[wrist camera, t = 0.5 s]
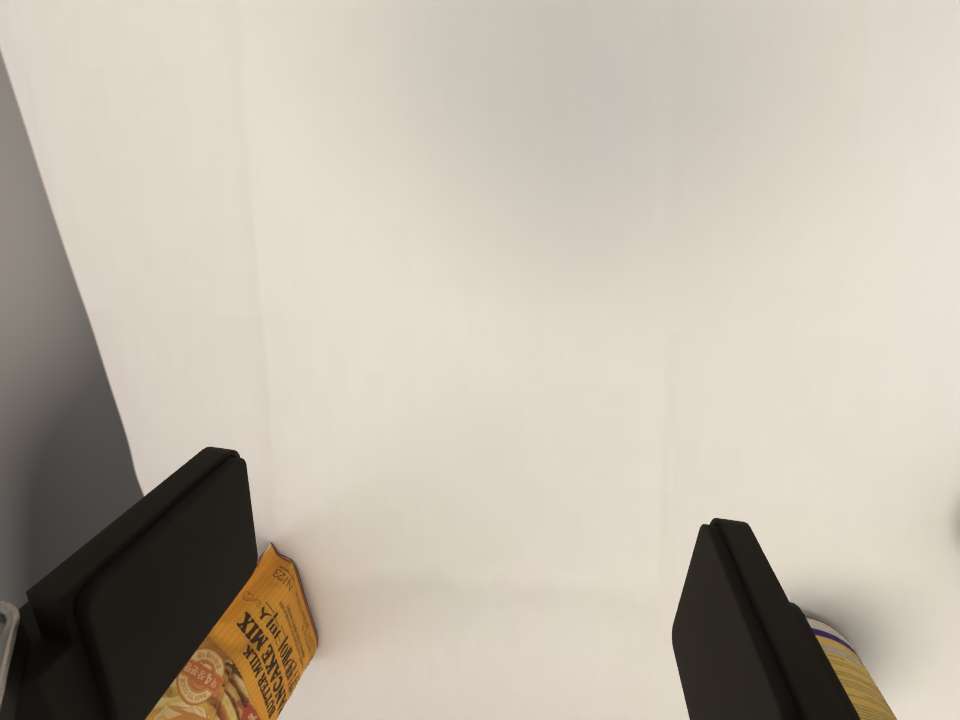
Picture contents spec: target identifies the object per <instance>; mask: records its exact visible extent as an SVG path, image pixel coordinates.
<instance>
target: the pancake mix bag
mask: <svg viewBox="0 0 960 720" xmlns="http://www.w3.org/2000/svg"><path fill="white" fill-rule="evenodd" d="M316 649H317V635H316V631H315V628H314V625H313V621H312V618H311V614H310V611H309V608H308V605H307V602H306V599H305V597H304V594H303V590H302V586H301V582H300V579H299V575H298V572H297V570H296V567H295V565H294V563H293V561H292V560H290V559H288V558H286V557H283V556H281V555H278V554H277V552H276V551H275V549H274V548H273V546H272V545H271V543H270V544H269V546H268V548H267V549H266V551H265V552H264V553H263V554H262V555H261V556H260V558H259V559H258V563H257V566H256V569H255V571H254V573H253V575H252V576H251V578H250V579H249V580H248V582H247V583H246V585H245V586H244V587H243V589H242V590H241V591H240V593H239V594H238V595H237V597H236V598H235V599H234V601H233V602H232V603H231V605H230V606H229V607H228V609H227V610H226V611H225V613H224V614H223V615H222V617H221V618H220V620H219V621H218V622H217V624H216V625H215V626H214V628H213V629H212V630H211V632H210V633H209V634H208V636H207V637H206V638H205V640H204V641H203V642H202V644H201V645H200V646H199V648H198V649H197V650H196V652H195V653H194V654H193V656H192V657H191V659H190V660H189V661H188V663H187V664H186V665H185V667H184V668H183V669H182V671H181V672H180V673H179V675H178V676H177V677H176V679H175V680H174V681H173V683H172V684H171V685H170V687H169V688H168V689H167V691H166V692H165V694H164V695H163V696H162V698H161V699H160V700H159V702H158V703H157V704H156V706H155V707H154V708H153V710H152V711H151V712H150V714H149V715H148V716H147V718H146V719H145V720H277V718H278V716H279V714H280V712H281V710H282V709H283V707H284V705H285V704H286V702H287V701H288V699H289V698H290V696H291V695H292V693H293V691H294V689H295V687H296V685H297V683H298V681H299V679H300V677H301V675H302V673H303V672H304V670H305V669H306V668H307V666H308V665H309V662H310V661H311V659H312V658H313V655H314V653H315V651H316Z"/></svg>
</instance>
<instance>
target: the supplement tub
mask: <svg viewBox="0 0 960 720" xmlns="http://www.w3.org/2000/svg"><path fill="white" fill-rule="evenodd" d="M806 619H807V621H808V623H809V624H810V626H811V628H812V630H813V632H814V634H815V636H816V637H817V639H818V641H819V643H820V645H821V647H822V648H823V650H824V652H825V654H826V656H827V658H828V660H829V661H830V663H831V665H832V667H833V669H834V671H835V673H836V674H837V676H838V678H839V680H840V682H841V684H842V685H843V687H844V689H845V691H846V693H847V695H848V697H849V698H850V700H851V702H852V704H853V706H854V708H855V710H856V711H857V713H858V715H859V717H860V719H861V720H897V719H896V717H895V715H894V714H893V712H892V710H891V709H890V707H889V705H888V704H887V702H886V701H885V699H884V697H883V696H882V694H881V692H880V691H879V689H878V687H877V686H876V684H875V683H874V681H873V679H872V678H871V676H870V674H869V673H868V671H867V669H866V668H865V666H864V665H863V663H862V661H861V660H860V658H859V656H858V654H857V652H856V651H855V649H854V648H853V647H852V646H851V644H850V643H849V642H848V641H847V640H846V639H845V638H844V637H843V636H842V635H841V634H839V633H838V632H837V631H835V630H834V629H833V628H831V627H829V626H827V625H826V624H824V623H821V622H819V621H816V620H813V619H810V618H806Z"/></svg>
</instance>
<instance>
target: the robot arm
mask: <svg viewBox="0 0 960 720" xmlns="http://www.w3.org/2000/svg"><path fill="white" fill-rule="evenodd" d="M257 561H258V554H257V546H256V538H255V530H254V522H253V514H252V506H251V498H250V490H249V482H248V474H247V466H246V462H245V460H244V459H242V458H240V455H239V454H238V452H237V451H235V450H230V449H223V448H216V447H206V448H205V449H203V450H202V451H200V452H199V453H198V454H197V455H195V456H194V457H193V458H192V459H190V460H189V461H188V462H187V463H186V464H184V465H183V466H182V467H181V468H179V469H178V470H177V471H176V472H174V473H173V474H172V475H171V476H169V477H168V478H167V479H166V480H164V481H163V482H162V483H161V484H159V485H158V486H157V487H156V488H155V489H153V490H152V491H151V492H150V493H148V494H147V495H146V496H145V497H143V498H142V499H141V500H140V501H138V502H137V503H136V504H135V505H133V506H132V507H131V508H130V509H128V510H127V511H126V512H125V513H124V514H123V515H121V516H120V517H119V518H117V519H116V520H115V521H114V522H112V523H111V524H110V525H109V526H107V527H106V528H105V529H104V530H102V531H101V532H100V533H99V534H98V535H96V536H95V537H94V538H92V540H90V541H89V542H88V543H86V544H85V545H84V546H83V547H81V548H80V549H79V550H78V551H76V552H75V553H74V554H73V555H72V556H70V557H69V558H68V559H66V560H65V561H64V562H63V563H61V564H60V565H59V566H58V567H57V568H55V569H54V570H53V571H52V572H51V573H49V574H48V575H47V576H45V577H44V578H43V579H42V580H40V581H39V582H38V583H37V584H35V585H34V586H33V587H32V588H31V589H29V590H28V591H27V592H26V594H27V596H28V599H29V601H28V602H27V603H26V604H24V605H23V606H22V607H21V608H20V609H19V610H17V608H15V606H14V605H13V604H10V603H7V602H3V601H0V720H145V719H146V718H147V716H148V715H149V714H150V712H151V711H152V710H153V708H154V707H155V706H156V704H157V703H158V702H159V700H160V699H161V698H162V696H163V695H164V694H165V692H166V691H167V689H168V688H169V687H170V685H171V684H172V683H173V681H174V680H175V679H176V677H177V676H178V675H179V673H180V672H181V671H182V669H183V668H184V667H185V665H186V664H187V663H188V661H189V660H190V659H191V657H192V656H193V654H194V653H195V652H196V650H197V649H198V648H199V646H200V645H201V644H202V642H203V641H204V640H205V638H206V637H207V636H208V634H209V633H210V632H211V630H212V629H213V628H214V626H215V625H216V624H217V622H218V621H219V620H220V618H221V617H222V615H223V614H224V613H225V611H226V610H227V609H228V607H229V606H230V605H231V603H232V602H233V601H234V599H235V598H236V597H237V595H238V594H239V593H240V591H241V590H242V589H243V587H244V586H245V585H246V583H247V582H248V580H249V579H250V578H251V576H252V575H253V573H254V571H255V569H256V566H257ZM672 644H673V649H674V653H675V658H676V662H677V666H678V671H679V675H680V679H681V683H682V688H683V692H684V696H685V701H686V705H687V709H688V713H689V718H690V720H861V719H860V717H859V715H858V713H857V711H856V710H855V708H854V706H853V704H852V702H851V700H850V698H849V697H848V695H847V693H846V691H845V689H844V687H843V685H842V684H841V682H840V680H839V678H838V676H837V674H836V673H835V671H834V669H833V667H832V665H831V663H830V661H829V660H828V658H827V656H826V654H825V652H824V650H823V648H822V647H821V645H820V643H819V641H818V639H817V637H816V636H815V634H814V632H813V630H812V628H811V626H810V624H809V623H808V621H807V619H806V617H805V615H804V614H803V612H802V611H801V609H800V608H799V607H798V606H797V605H795V604H794V603H791V602H789V600H788V599H787V597H786V595H785V593H784V591H783V589H782V587H781V585H780V583H779V581H778V579H777V577H776V576H775V574H774V572H773V570H772V568H771V566H770V564H769V562H768V560H767V558H766V556H765V554H764V553H763V551H762V549H761V547H760V545H759V543H758V541H757V539H756V537H755V535H754V533H753V532H752V530H751V528H750V526H749V525H748V523H746V522H741V521H734V520H727V519H720V518H714V519H713V520H712V521H711V523H710V525H707V524H703V525H702V526H701V527H700V530H699V533H698V537H697V540H696V544H695V548H694V551H693V555H692V558H691V562H690V566H689V569H688V573H687V576H686V580H685V584H684V587H683V591H682V594H681V598H680V602H679V605H678V609H677V612H676V616H675V620H674V623H673V628H672Z"/></svg>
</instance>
